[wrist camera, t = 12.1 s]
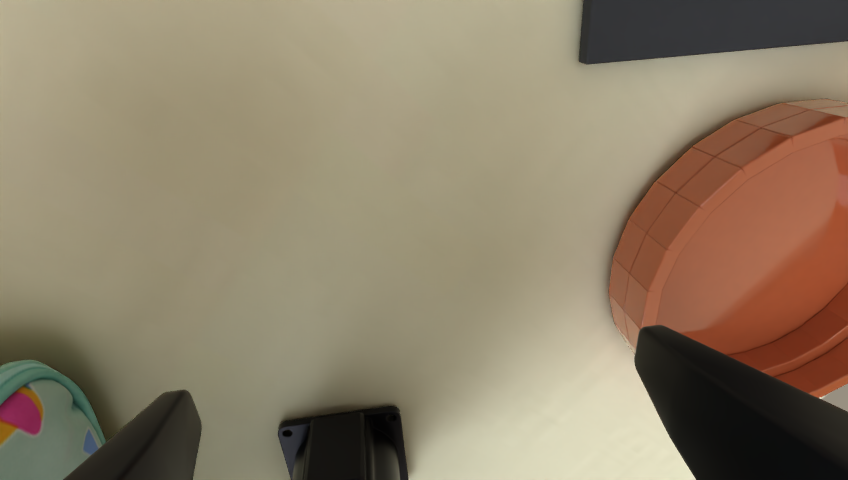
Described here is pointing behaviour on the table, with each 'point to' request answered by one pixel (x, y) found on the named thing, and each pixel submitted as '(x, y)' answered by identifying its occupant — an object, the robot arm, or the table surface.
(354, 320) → the table surface
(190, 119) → the table surface
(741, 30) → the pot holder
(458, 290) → the table surface
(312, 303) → the table surface
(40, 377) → the lunch box
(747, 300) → the dish
